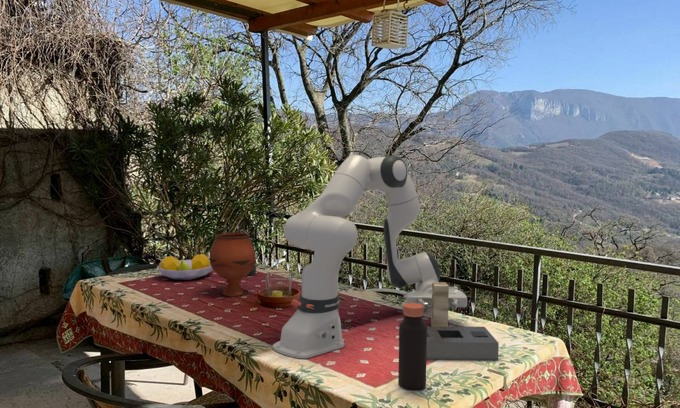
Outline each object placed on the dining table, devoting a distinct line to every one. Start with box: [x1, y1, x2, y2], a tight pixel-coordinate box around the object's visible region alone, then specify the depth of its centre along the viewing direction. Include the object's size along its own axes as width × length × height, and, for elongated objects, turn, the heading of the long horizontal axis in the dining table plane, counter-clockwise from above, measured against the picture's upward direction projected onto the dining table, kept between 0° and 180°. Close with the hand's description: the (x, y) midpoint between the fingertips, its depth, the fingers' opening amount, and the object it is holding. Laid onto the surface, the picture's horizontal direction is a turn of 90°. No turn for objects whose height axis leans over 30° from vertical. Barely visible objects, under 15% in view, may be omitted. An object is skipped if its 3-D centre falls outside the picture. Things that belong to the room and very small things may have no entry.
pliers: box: [339, 295, 348, 303], centre depth 208 cm, size 10×1×20 cm
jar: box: [245, 261, 257, 278], centre depth 246 cm, size 10×10×8 cm
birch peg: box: [430, 282, 449, 326], centre depth 163 cm, size 4×4×16 cm
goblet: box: [209, 232, 257, 297], centre depth 210 cm, size 19×19×25 cm
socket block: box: [426, 325, 499, 361], centre depth 147 cm, size 14×24×5 cm, turn 90°
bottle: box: [397, 303, 428, 391], centre depth 123 cm, size 7×7×20 cm
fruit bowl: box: [156, 253, 214, 281], centre depth 239 cm, size 28×27×11 cm
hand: (440, 306), depth 162 cm, fingers open, 8 cm apart
